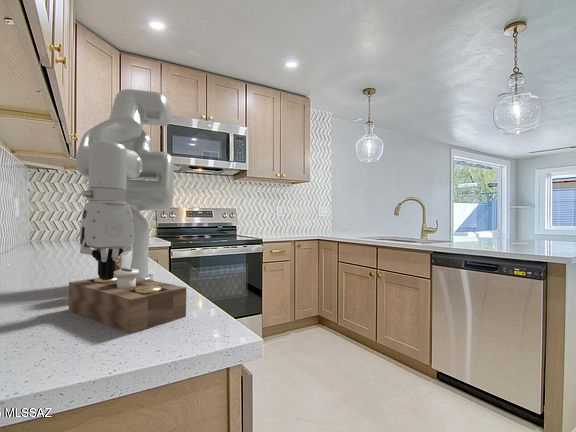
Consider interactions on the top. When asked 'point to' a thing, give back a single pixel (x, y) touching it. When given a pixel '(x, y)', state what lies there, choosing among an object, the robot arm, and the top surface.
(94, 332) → the top surface
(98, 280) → the brass knob
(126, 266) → the beer glass
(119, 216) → the robot arm
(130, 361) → the top surface
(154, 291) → the brass knob
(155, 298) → the block
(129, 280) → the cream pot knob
